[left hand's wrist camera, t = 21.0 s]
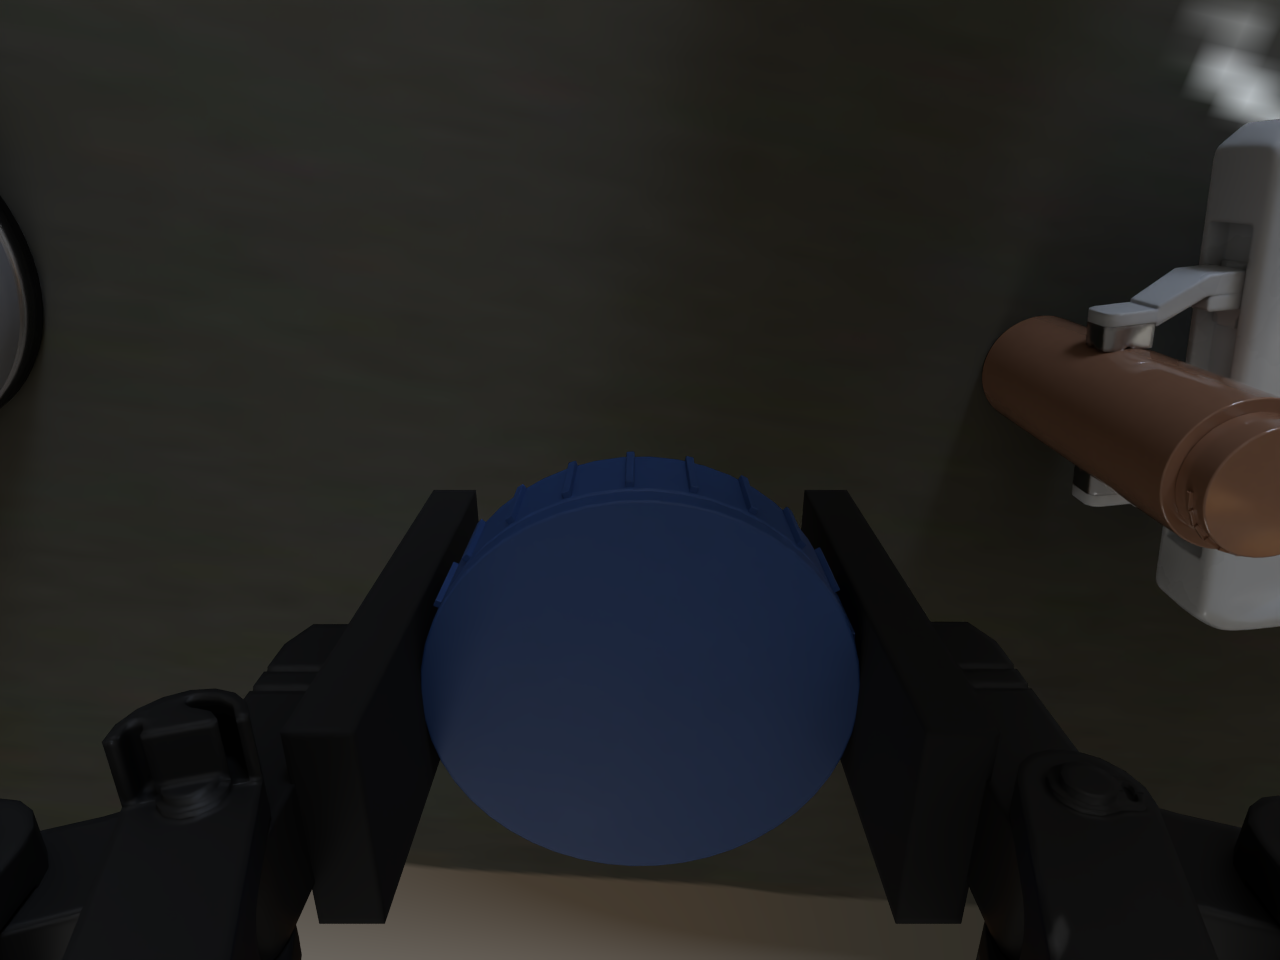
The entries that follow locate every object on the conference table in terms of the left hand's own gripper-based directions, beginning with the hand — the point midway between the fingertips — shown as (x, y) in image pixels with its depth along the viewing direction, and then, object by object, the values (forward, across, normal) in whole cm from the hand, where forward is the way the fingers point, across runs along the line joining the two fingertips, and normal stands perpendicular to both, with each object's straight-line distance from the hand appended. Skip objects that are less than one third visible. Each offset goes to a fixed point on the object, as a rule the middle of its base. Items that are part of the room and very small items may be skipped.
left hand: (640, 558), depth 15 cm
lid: (-4, 0, 0) cm, 4 cm away
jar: (+24, +19, -2) cm, 30 cm away
